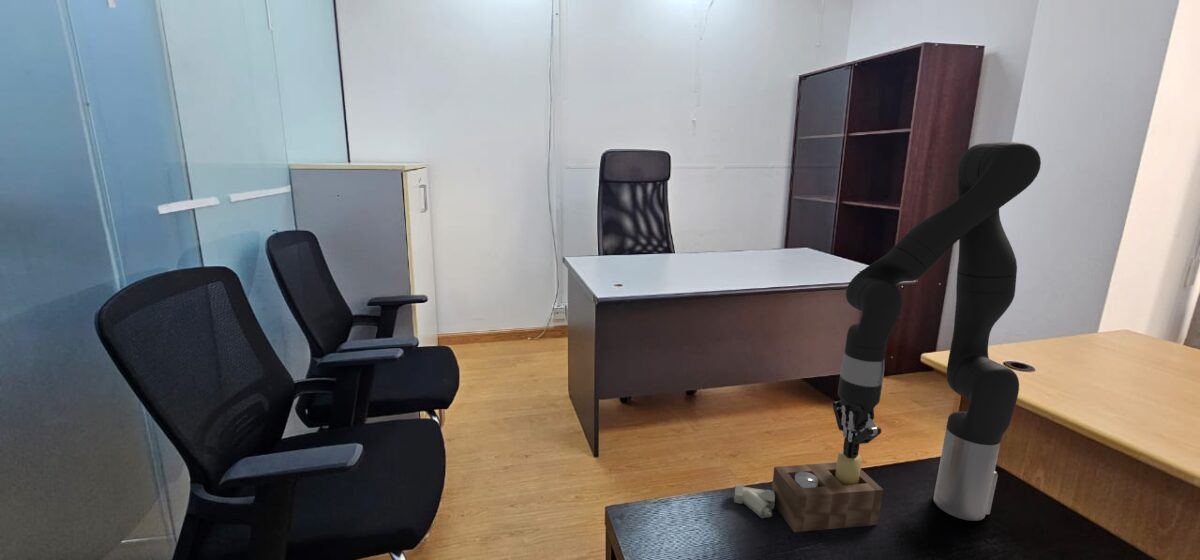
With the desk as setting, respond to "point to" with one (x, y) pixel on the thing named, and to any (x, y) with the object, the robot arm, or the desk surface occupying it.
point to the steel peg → (806, 480)
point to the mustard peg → (848, 469)
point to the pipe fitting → (756, 500)
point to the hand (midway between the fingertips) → (849, 455)
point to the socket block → (825, 499)
